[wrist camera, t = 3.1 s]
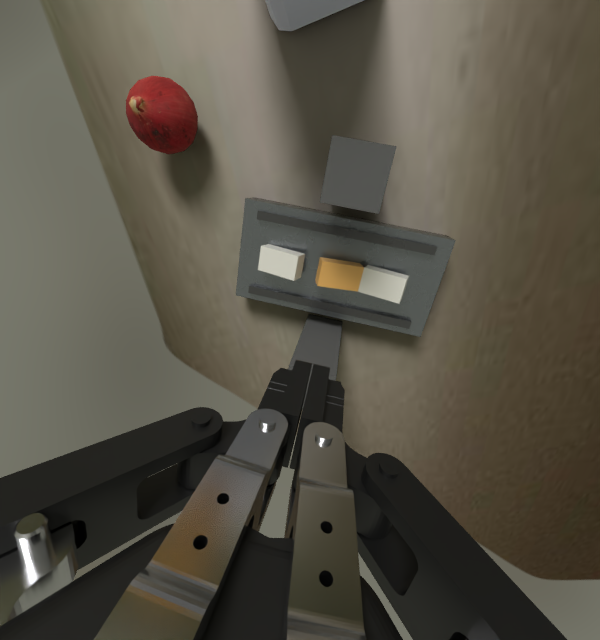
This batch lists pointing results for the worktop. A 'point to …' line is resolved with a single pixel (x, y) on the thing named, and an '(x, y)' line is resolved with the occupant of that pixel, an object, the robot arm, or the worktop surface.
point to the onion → (162, 114)
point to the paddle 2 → (383, 283)
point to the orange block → (339, 274)
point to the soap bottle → (303, 11)
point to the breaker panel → (348, 245)
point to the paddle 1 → (281, 262)
